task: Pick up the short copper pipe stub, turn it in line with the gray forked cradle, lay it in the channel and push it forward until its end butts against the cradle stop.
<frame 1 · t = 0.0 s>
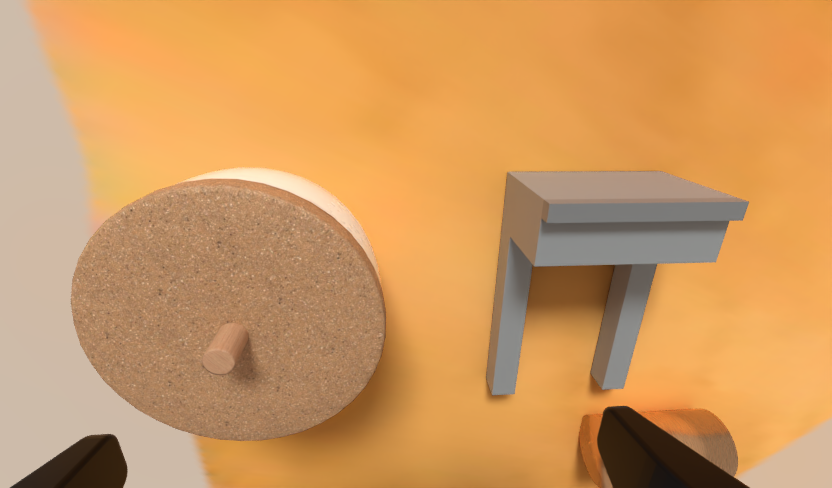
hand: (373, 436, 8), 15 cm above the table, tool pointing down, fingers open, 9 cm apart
lidded jar: (282, 245, 22), on the table
gray forked cradle: (563, 294, 24), on the table
pipe stub: (634, 420, 29), on the table
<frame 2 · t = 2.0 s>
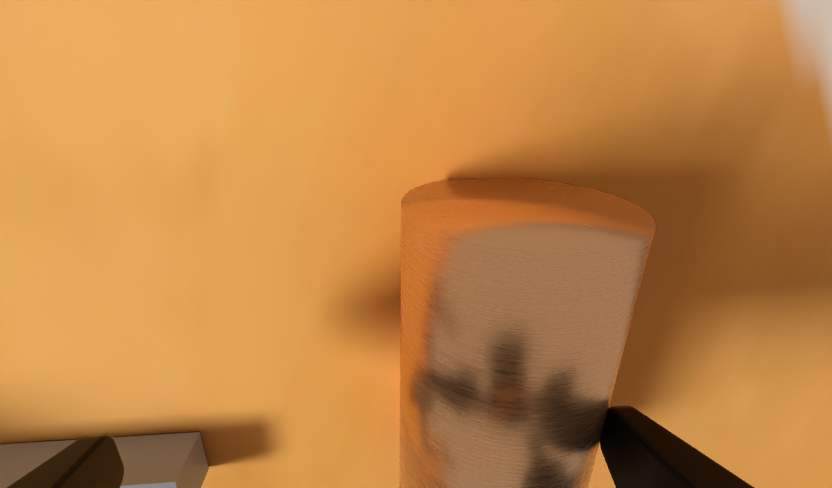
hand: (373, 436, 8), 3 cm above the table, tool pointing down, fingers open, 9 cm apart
pipe stub: (406, 403, 8), point 3 cm above the table, tilted 107°, touching gripper
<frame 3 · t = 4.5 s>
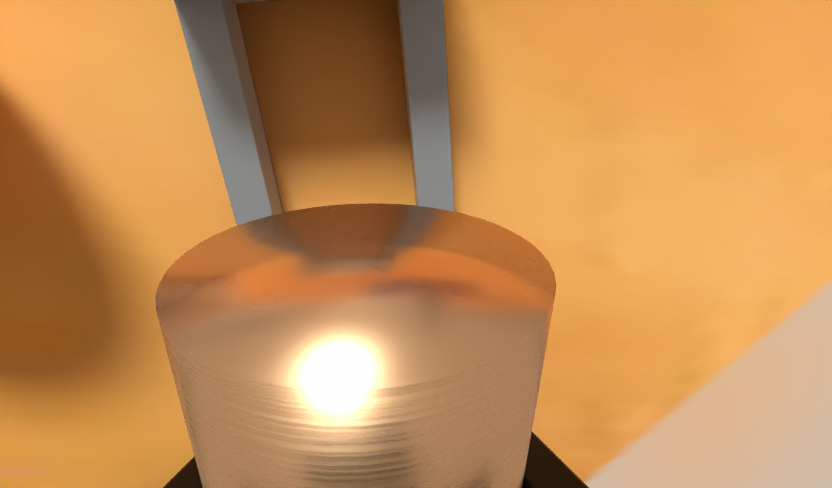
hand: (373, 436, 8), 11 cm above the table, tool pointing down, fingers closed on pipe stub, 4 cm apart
gray forked cradle: (337, 126, 16), on the table
pipe stub: (304, 407, 8), point 10 cm above the table, tilted 38°, touching gripper
when the fingers open (2 cm above the table, at t = 6.3 s): pipe stub drops 1 cm and tips over, point 1 cm above the table.
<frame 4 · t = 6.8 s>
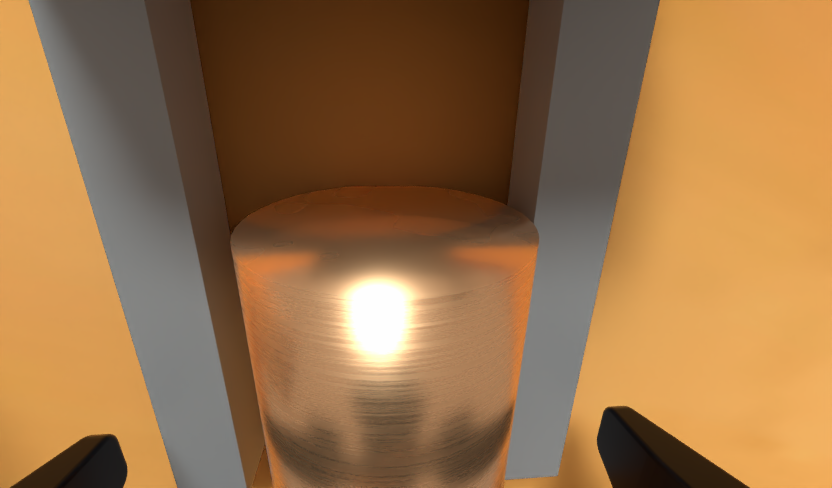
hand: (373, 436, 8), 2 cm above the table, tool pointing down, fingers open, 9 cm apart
gray forked cradle: (370, 213, 8), on the table
pipe stub: (313, 372, 9), point 1 cm above the table, tilted 48°
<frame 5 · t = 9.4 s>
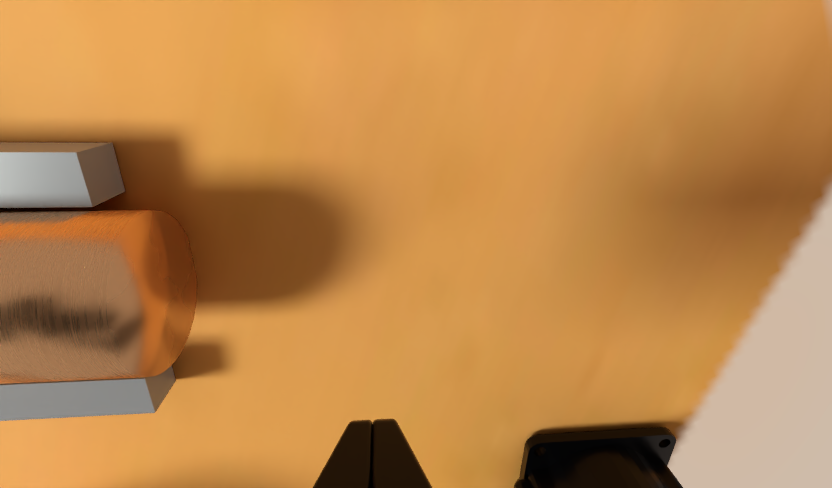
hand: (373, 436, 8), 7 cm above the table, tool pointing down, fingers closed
pipe stub: (57, 326, 13), point 1 cm above the table, tilted 55°
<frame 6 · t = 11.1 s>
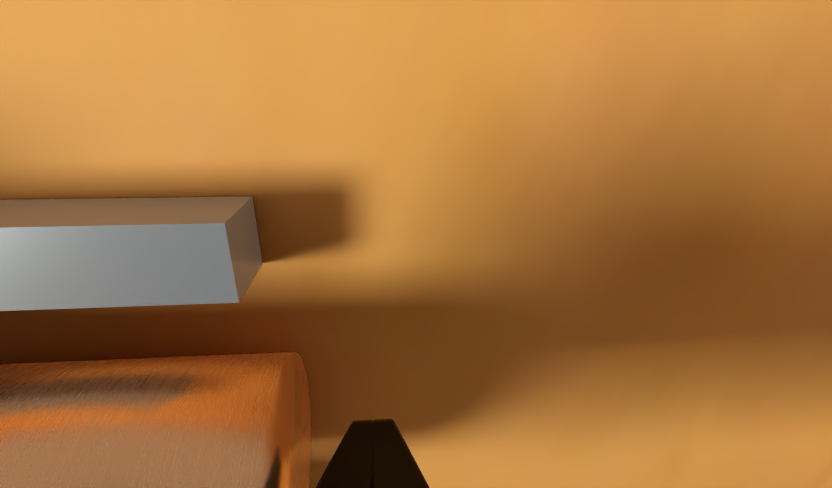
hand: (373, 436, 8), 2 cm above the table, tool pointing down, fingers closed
pipe stub: (132, 441, 9), resting in gray forked cradle, tilted 27°, touching gripper
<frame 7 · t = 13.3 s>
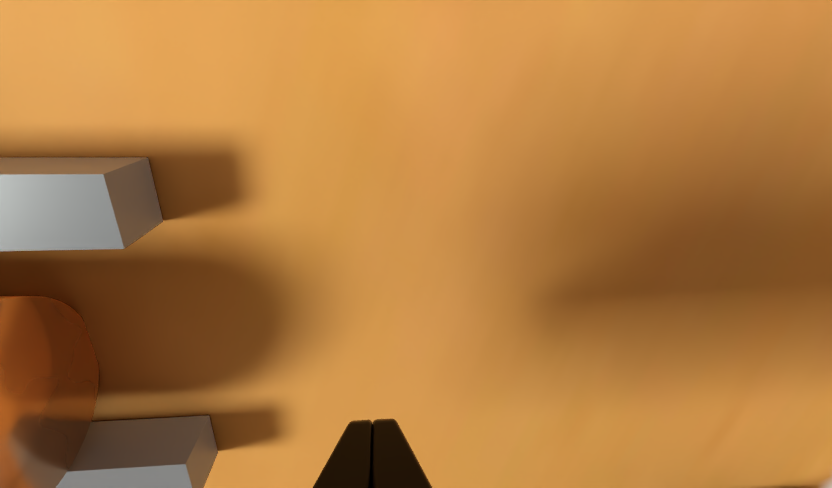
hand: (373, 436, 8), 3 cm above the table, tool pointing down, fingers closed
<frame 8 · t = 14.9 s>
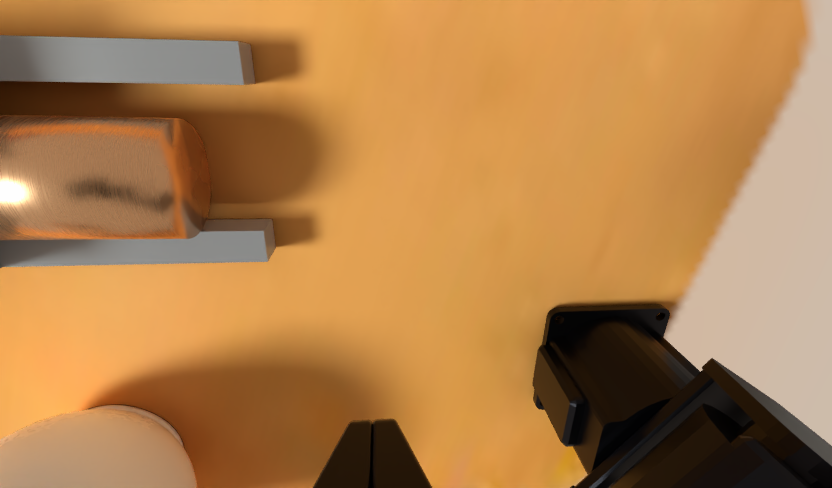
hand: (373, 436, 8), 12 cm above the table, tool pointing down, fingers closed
lidded jar: (127, 443, 23), on the table
gray forked cradle: (112, 155, 17), on the table
pipe stub: (111, 191, 17), resting in gray forked cradle, tilted 27°
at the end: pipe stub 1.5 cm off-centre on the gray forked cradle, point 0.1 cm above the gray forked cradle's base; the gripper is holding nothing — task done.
